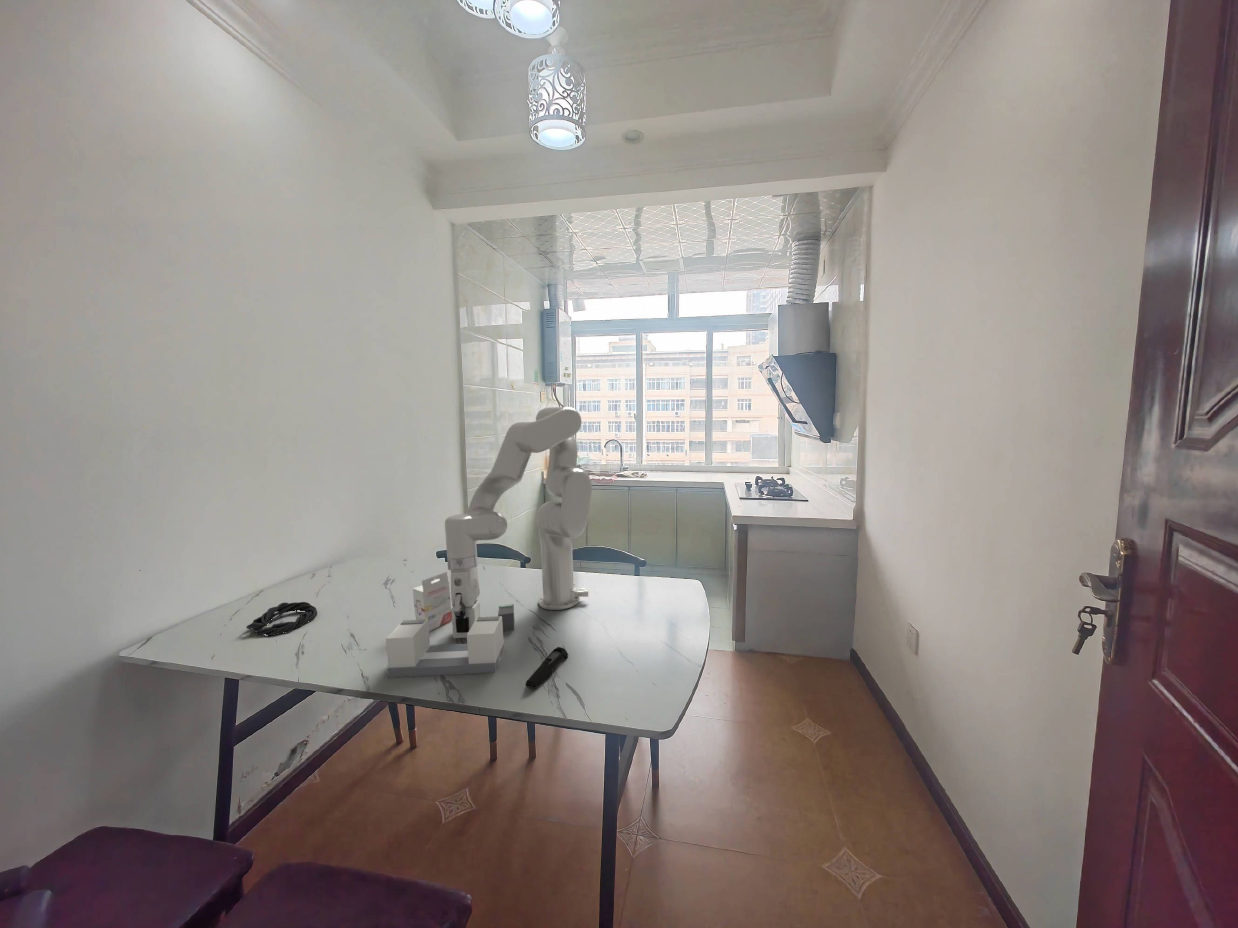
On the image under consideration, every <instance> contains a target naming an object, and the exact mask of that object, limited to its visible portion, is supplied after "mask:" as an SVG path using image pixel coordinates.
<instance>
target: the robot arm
mask: <svg viewBox="0 0 1238 928" xmlns="http://www.w3.org/2000/svg"><path fill="white" fill-rule="evenodd" d="M581 417H582V416H581V414H580V413H579V411H578V410H576V409H575V408H573V407H571V406H555V407H554V406H552V407H551V406H549V407H545V408H542V409H540V410H539V411H537V413H536V416H535V421H519V422H516V423H515V422H514V423H513V424H511V425H510V426H509V428H508V430H506V434H505V436H504V439H503V441H502V444H501V445H500V449H499V452H498V454H497V456H496V458H495V461H494V463H493V466H492V469H491V470H490V471H489V473H488V475H486V477H485V478H484V479H483V480H482V482H481V483H480V484H479V486H478V487H477V488H476V489H475V492H474V494H473V495H472V498H471V501H470V503H469V505H468V508H467V511H466V513H461V514H453V515H450V516H448V517H447V518H445V521H444V531H445V532H444V533H445V544H446V545H445V547H446V558H447V559H446V561H447V569H448V571H450V599H451V607H452V608H453V607H454V613H455V619H456V632H457V633H467V632H469V617H467V608H468V607H471V606H472V605H473V604H474V602H475V601H476V600H477V599H478V598H479V596H480V593H481V591H480V582H479V575H478V573H479V572H478V568H477V567H478V565H479V564H478V563H479V561H478V551H477V550H478V549H477V542H478V541H491V540H497V539H499V538H501V537H502V536H503V535H504V534H506V532H507V528H508V522H507V519H506V518H505V517H504V515H502V513H499V512H497V511H495V508H496V505H497V503H498V501H499V500H500V498H501V497H502V496H503V494H505V493H506V492H507V491H508V490H510V489H511V488H513V487H515V486H517V484H520V482H521V481H522V479H523V476H524V473H525V471H526V468H527V466H528V464H529V461H530V458H531V456H532V454H538V453H542V452H544V451H547V450H549V455H548V464H547V471H546V477H545V489H546V491H547V493H548V494H549V495H551V496H553V497H555V498H560V499H561V501H557V500H549V501H547V502H544V503H543V504H542V505H541V506H539V508H538V510H537V512H536V525H537V530H538V535H539V541H540V542H539V543H540V554H541V555H540V556H541V557H540V559H541V577H542V580H541V581H542V595H541V596H539V598H538V600H537V603H538V605H539V607H540V608H541V609H545V610H548V611H549V610H550V611H560V610H566V609H569V608H572V607H574V606H576V605H577V604H578V603H579V602H580V598H581V597H583V598H586V597H589V590H588V589H587V590H585V589H586V588H584V587H583V588H578V587H576V583H574V560H573V542H572V539H576V538H578V537H580V536H582V534H583V533H584V531H585V530H586V527H587V524H588V520H589V512H590V506H591V497H592V489H593V487H592V486H593V484H592V479H591V477H590V476H589V474H588V473H587V472H586V471H585V470H584V469H581V468H579V467H577V463H578V445H577V441H576V439H575V435H576V434H577V433H578V432H579V431H580V429H581V426H582V418H581ZM461 604H464V605H465V606H461ZM461 608H464V613H463V611H461Z"/></svg>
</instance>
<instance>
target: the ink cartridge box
mask: <svg viewBox="0 0 1238 928" xmlns="http://www.w3.org/2000/svg"><path fill="white" fill-rule="evenodd" d="M421 584H422V585H419V586H417V587H413V588H412V594H413V595H412V596H413V605H414V615H415V616H414V617H415V620H426V619H428V626H429V632H431V631H433V630H435V629H437V628H440V627H441V626H443V625H445V624H447V623H450V622H452V613H451V609H452V600H451V586H450V581H449V576H448V572H447V571H444V572H442V573H439V574H436V575H433V576H430V577H428V578H425V579H423V580H422V581H421Z"/></svg>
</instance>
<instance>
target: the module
mask: <svg viewBox="0 0 1238 928" xmlns="http://www.w3.org/2000/svg"><path fill="white" fill-rule="evenodd" d="M480 603H481V602H480V600H477V599H476V601H475V602H474V604H473V605H472V606H471V607H468V608H467V617H469V630H470V629H471V627H472V625H473V624H474V622H475V620H476V619H477V617H481V608H480V607H481V604H480ZM461 606H465V605H464V604H461ZM461 611H463V613H464V608H461ZM451 613H452V620H451V623H452V625H451V626H452V635H453V637H452V638H453V639H461V638H462V639H463V638H464V639H465V638H466V639H467V634H468V632H467V633H457V632H456V619H455V613H454V607H453V606H452V607H451Z"/></svg>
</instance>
